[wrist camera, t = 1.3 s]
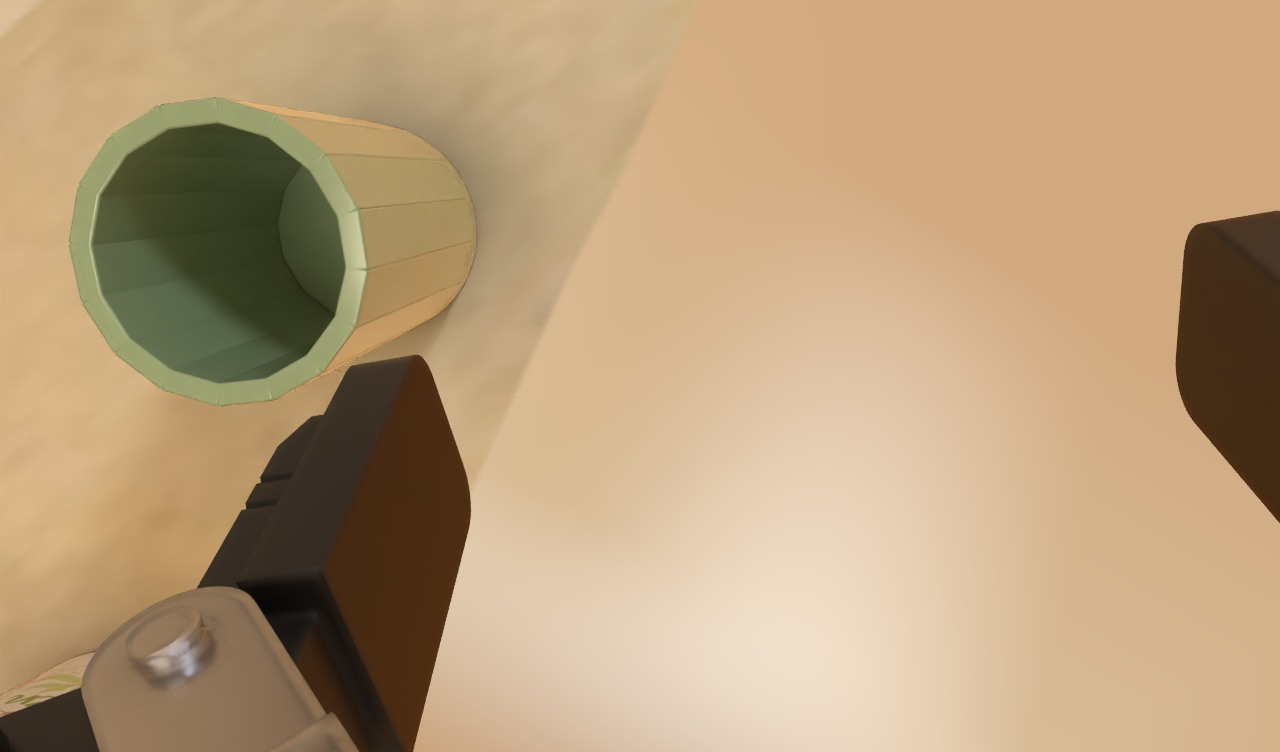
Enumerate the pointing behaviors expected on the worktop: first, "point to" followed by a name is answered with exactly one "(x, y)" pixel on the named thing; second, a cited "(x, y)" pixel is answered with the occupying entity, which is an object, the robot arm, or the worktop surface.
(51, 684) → the mug
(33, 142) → the worktop surface
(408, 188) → the cup
